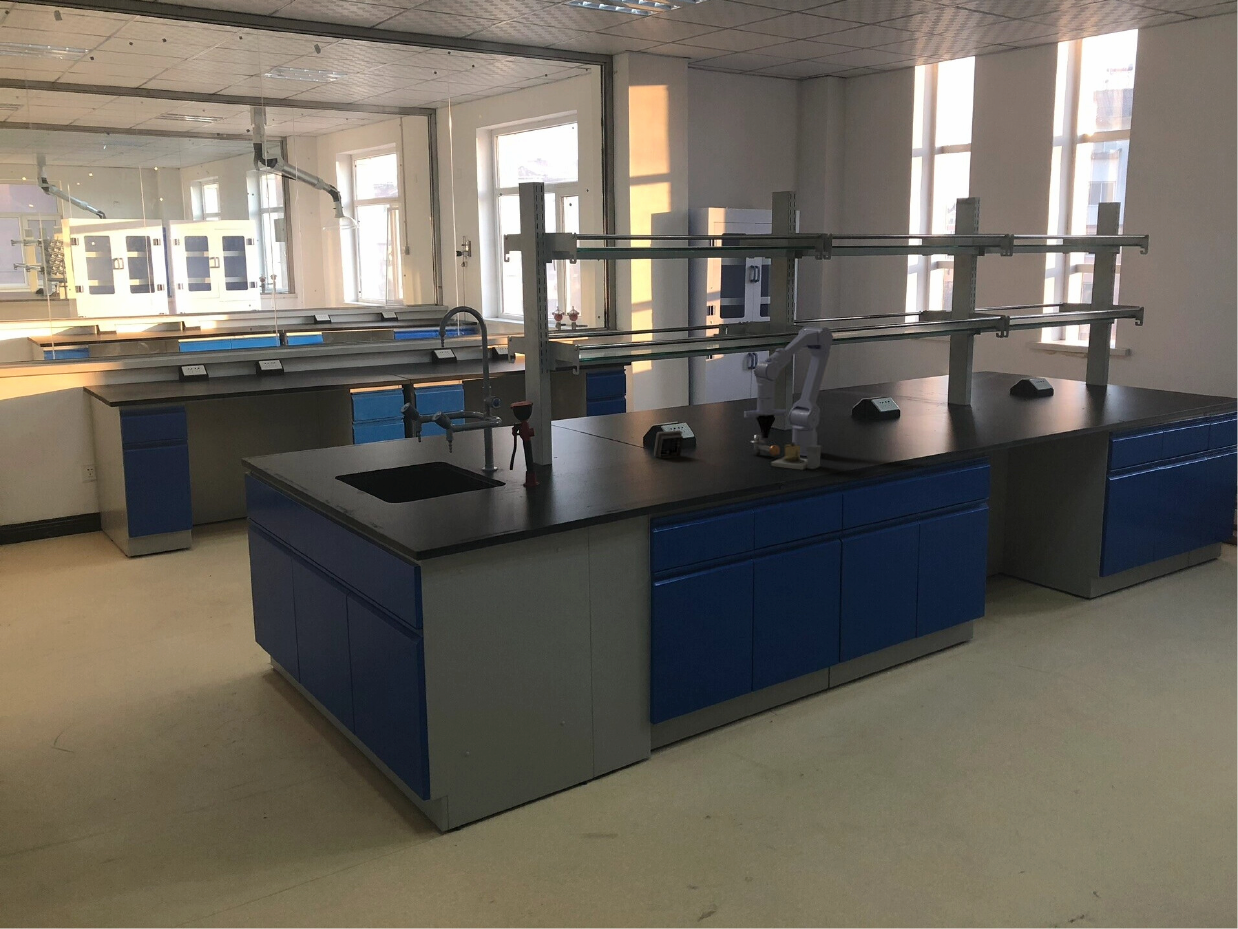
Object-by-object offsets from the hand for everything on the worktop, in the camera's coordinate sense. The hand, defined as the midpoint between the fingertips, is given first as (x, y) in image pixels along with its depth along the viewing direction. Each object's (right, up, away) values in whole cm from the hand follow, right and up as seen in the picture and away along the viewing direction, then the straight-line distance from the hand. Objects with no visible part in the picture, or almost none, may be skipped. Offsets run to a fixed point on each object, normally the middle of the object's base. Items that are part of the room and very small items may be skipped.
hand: (765, 437), depth 342 cm
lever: (+2, -5, +4) cm, 7 cm away
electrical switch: (-32, -7, +7) cm, 33 cm away
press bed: (+10, -9, -6) cm, 15 cm away
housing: (+8, -8, -6) cm, 12 cm away
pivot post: (-1, -6, +10) cm, 11 cm away
